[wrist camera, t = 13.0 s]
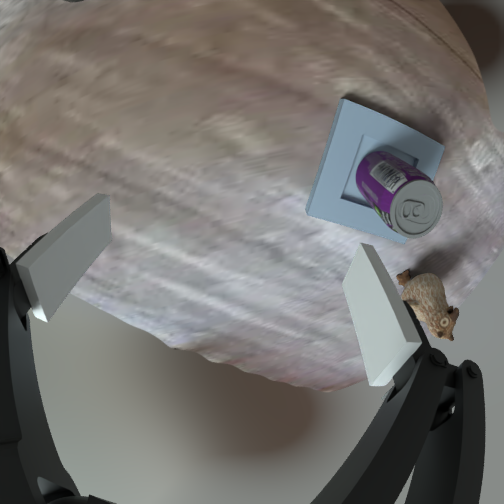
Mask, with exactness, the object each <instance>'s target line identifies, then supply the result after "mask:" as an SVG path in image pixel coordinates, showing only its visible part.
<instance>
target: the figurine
mask: <svg viewBox="0 0 504 504" xmlns="http://www.w3.org/2000/svg"><path fill="white" fill-rule="evenodd" d="M396 277H397V279H398V280H399V285H403V286H404V287H405V288H404V291H403V293H402V295H401V299H402V300H404V301H406V302H407V303H408V304H409V305H410V306H411V307H412V308H413V310H414V312H415V314H416V316H417V319H418V320H421V321H424V322H425V323H426V324H427V326H428V329H429V331H430V332H431V334H432V335H433V336H435V337H437V338H440V339H449V340H450V341H453V340H454V337H453V335H452V331H453V328H454V326H455V324H456V320H457V318H458V316H459V310H458V308H455V309H454V310H453V306H450V307H449V306H448V304H447V302H446V296H445V290H444V286H443V284H442V281H441V280H440V279H439V278H438V277H437V276H436V275H435V274H432V273H424V274H420V275H418V276H416V277H414V278H413V279H412V280H410V279H411V277H410V276H409V271H408V270H406V271H405V272H403V274H401V275H397V276H396Z"/></svg>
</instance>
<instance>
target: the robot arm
mask: <svg viewBox="0 0 504 504" xmlns="http://www.w3.org/2000/svg"><path fill="white" fill-rule="evenodd" d="M64 1H68V2H79V1H83V0H64ZM111 241H112V234H111V219H110V195H106V194H100V193H97V194H96V195H95V196H93V197H92V198H91V199H89V200H88V201H87V202H85V203H84V204H83V205H82V206H80V207H79V208H78V209H76V210H75V211H74V212H73V213H71V214H70V215H69V216H68V217H67V218H65V219H64V220H63V221H62V222H60V223H59V224H58V225H57V226H56V227H55V228H53V229H52V230H51V231H50V232H49V233H46V234H44V235H42V236H41V237H39V238H38V239H36V240H35V241H34V242H33V243H32V245H30V246H29V247H28V248H27V250H24V251H23V252H22V253H21V254H20V255H19V256H18V257H17V258H16V259H15V260H14V261H13V262H12V263H11V264H10V265H9V262H8V259H7V256H6V253H5V250H4V249H3V248H1V247H0V504H116V503H113V502H109V501H106V500H104V499H101V498H98V497H95V496H92V495H89V497H84V496H80V493H79V491H78V489H77V487H76V485H75V483H74V481H73V480H72V478H71V476H70V475H69V474H68V473H67V471H66V470H65V468H64V467H63V465H62V463H61V461H60V458H59V456H58V453H57V451H56V447H55V445H54V442H53V439H52V435H51V432H50V429H49V426H48V423H47V419H46V415H45V412H44V407H43V404H42V399H41V395H40V391H39V386H38V381H37V375H36V370H35V364H34V357H33V350H32V341H31V332H30V320H29V316H28V314H27V312H28V310H29V309H30V308H32V310H33V312H34V315H35V317H36V318H39V319H41V320H43V321H46V322H49V320H50V319H51V317H52V316H53V315H54V313H55V312H56V310H57V309H58V308H59V306H60V305H61V303H62V302H63V301H64V299H65V298H66V297H67V295H68V294H69V293H70V291H71V290H72V289H73V287H74V286H75V285H76V283H77V282H78V281H79V280H80V278H81V277H82V276H83V274H84V273H85V272H86V271H87V269H88V268H89V267H90V266H91V265H92V263H93V262H94V261H95V260H96V258H97V257H98V256H99V255H100V254H101V253H102V251H103V250H104V249H105V248H106V247H107V246H108V244H109V243H110V242H111ZM342 287H343V290H344V293H345V296H346V300H347V303H348V306H349V310H350V313H351V316H352V320H353V323H354V327H355V330H356V334H357V338H358V341H359V345H360V349H361V353H362V357H363V361H364V365H365V369H366V373H367V377H368V381H369V385H370V386H385V385H386V384H387V383H388V382H389V381H390V380H391V379H392V378H393V380H394V383H395V385H394V386H393V387H392V388H391V389H390V390H389V391H388V392H387V393H386V394H385V395H384V396H383V397H382V398H381V399H382V400H383V399H384V398H385V397H386V398H385V400H384V402H383V404H382V406H381V407H380V409H379V411H378V413H377V414H376V416H375V417H374V419H373V421H372V422H371V424H370V425H369V427H368V429H367V430H366V432H365V433H364V435H363V436H362V438H361V439H360V441H359V442H358V444H357V445H356V447H355V448H354V450H353V451H352V452H351V454H350V455H349V457H348V458H347V459H346V461H345V462H344V463H343V465H342V466H341V467H340V469H339V470H338V471H337V473H336V474H335V475H334V476H333V478H332V479H331V480H330V481H329V483H328V484H327V485H326V486H325V487H324V489H323V490H322V491H321V492H320V493H319V494H318V496H317V497H316V498H315V499H314V500H313V501H312V502H311V503H310V504H394V503H395V501H396V499H397V498H398V496H399V494H400V492H401V491H402V489H403V487H404V485H405V483H406V481H407V480H408V478H409V476H410V474H411V472H412V470H413V468H414V465H415V468H414V472H413V476H412V480H411V484H410V487H409V491H408V494H407V498H406V501H405V504H479V499H480V493H481V486H482V478H483V469H484V455H485V403H484V388H483V379H482V373H481V370H480V369H479V366H478V365H477V364H476V363H474V362H473V361H471V360H465V361H464V362H463V363H462V364H461V365H460V366H459V367H457V366H454V365H451V364H449V363H448V360H447V358H446V356H445V355H444V354H443V353H442V352H441V351H440V350H438V349H436V348H431V346H430V344H429V342H428V339H427V337H426V335H425V333H424V331H423V328H422V326H421V325H420V322H419V320H418V319H417V316H416V314H415V312H414V310H413V308H412V307H411V306H410V305H409V304H408V303H407V302H406V301H404V300H402V299H401V297H400V295H399V293H398V291H397V289H396V287H395V285H394V283H393V281H392V279H391V277H390V276H389V274H388V272H387V270H386V268H385V266H384V265H383V263H382V261H381V259H380V257H379V256H378V254H377V252H376V250H375V249H374V247H373V246H372V245H368V244H364V243H360V244H359V247H358V249H357V251H356V254H355V256H354V258H353V261H352V263H351V265H350V267H349V270H348V272H347V274H346V276H345V278H344V281H343V283H342ZM454 406H455V410H454V413H452V408H453V407H454ZM415 463H416V464H415Z"/></svg>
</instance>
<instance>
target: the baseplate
mask: <svg viewBox="0 0 504 504" xmlns="http://www.w3.org/2000/svg"><path fill="white" fill-rule="evenodd" d="M444 148H445V146H443V145H441V144H440V143H438V142H436V141H434V140H433V139H431V138H429V137H427V136H425V135H424V134H422V133H420V132H418V131H416V130H414V129H412V128H410V127H408V126H406V125H404V124H402V123H400V122H398V121H396V120H394V119H392V118H389V117H387V116H385V115H383V114H380V113H378V112H376V111H374V110H371V109H369V108H366V107H364V106H361V105H359V104H356V103H354V102H351V101H349V100H346V99H340V101H339V104H338V108H337V111H336V115H335V118H334V121H333V125H332V128H331V131H330V134H329V138H328V141H327V144H326V147H325V150H324V154H323V157H322V160H321V163H320V166H319V169H318V172H317V175H316V178H315V181H314V184H313V187H312V190H311V193H310V196H309V199H308V202H307V205H306V208H305V210H306V213H307V215H308V216H312V217H315V218H319V219H323V220H326V221H330V222H333V223H337V224H340V225H344V226H347V227H351V228H354V229H357V230H361V231H364V232H367V233H370V234H374V235H377V236H380V237H383V238H387V239H390V240H393V241H396V242H399V243H402V244H405V242H406V240H407V237H404V236H402V235H400V234H399V233H397V232H394V231H393V230H391V229H390V228H389V227H388V226H387V225H386V224H385V223H384V221H383V220H382V219H381V218H380V216H379V215H378V214H377V213H376V211H375V210H374V209H373V208H372V206H371V205H370V204H369V203H368V202H367V200H366V199H365V198H364V197H363V196H362V194H361V193H360V192H359V190H358V188H357V185H356V179H355V178H356V170H357V168H358V165H359V163H360V162H361V161H362V159H363V158H364V157H366V156H367V155H368V154H370V153H373V152H376V151H384V152H388V153H390V154H392V155H394V156H396V157H398V158H400V159H401V160H403V161H405V162H406V163H408V164H410V165H412V166H413V167H415V168H417V169H418V170H420V171H422V172H423V173H425V174H426V175H427V176H429V177H430V178H431V180H432V181H433V179H434V176H435V174H436V171H437V168H438V166H439V163H440V160H441V157H442V154H443V151H444Z"/></svg>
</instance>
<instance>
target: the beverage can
mask: <svg viewBox="0 0 504 504" xmlns="http://www.w3.org/2000/svg"><path fill="white" fill-rule="evenodd" d="M355 179H356V185H357V188H358V190H359V192H360V193H361V194H362V196H363V197H364V198H365V199H366V200H367V202H368V203H369V204H370V205H371V206H372V208H373V209H374V210H375V211H376V213H377V214H378V215H379V216H380V218H381V219H382V220H383V221H384V223H385V224H386V225H387V226H388V227H389V228H390V229H391V230H393V231H394V232H397V233H399V234H400V235H402V236H404V237H407V238H419V237H422V236H424V235H426V234H428V233H429V232H430V231H431V230H432V229H433V228H434V227H435V226H436V224H437V223H438V221H439V219H440V217H441V214H442V208H443V202H442V197H441V194H440V192H439V190H438V189H437V187H436V186H435V184H434V182H433V181H432V180H431V178H430V177H429V176H427V175H426V174H425V173H423V172H422V171H420V170H418V169H417V168H415V167H413V166H412V165H410V164H408V163H406V162H405V161H403V160H401V159H400V158H398V157H396V156H394V155H392V154H390V153H388V152H384V151H376V152H373V153H370V154H368V155H367V156H366V157H364V158H363V159H362V161H361V162H360V163H359V165H358V168H357V170H356V178H355Z"/></svg>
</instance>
